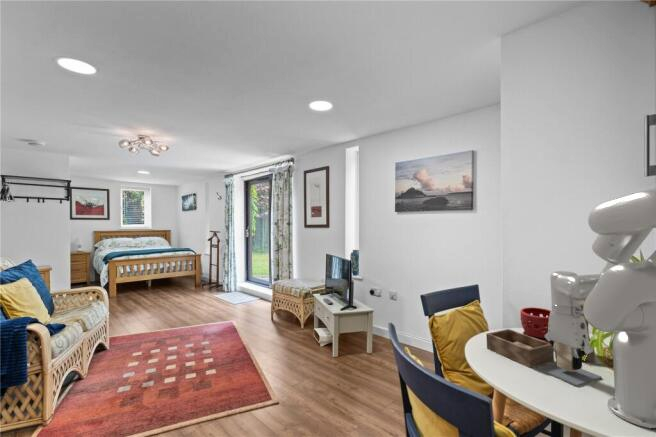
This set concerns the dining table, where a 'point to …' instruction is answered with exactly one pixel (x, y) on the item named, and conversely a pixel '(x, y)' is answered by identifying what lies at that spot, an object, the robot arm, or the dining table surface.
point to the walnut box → (520, 347)
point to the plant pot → (535, 322)
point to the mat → (570, 375)
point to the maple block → (564, 357)
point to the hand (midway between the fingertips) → (568, 364)
